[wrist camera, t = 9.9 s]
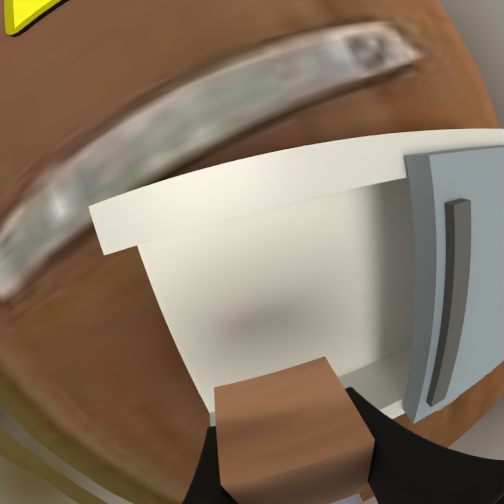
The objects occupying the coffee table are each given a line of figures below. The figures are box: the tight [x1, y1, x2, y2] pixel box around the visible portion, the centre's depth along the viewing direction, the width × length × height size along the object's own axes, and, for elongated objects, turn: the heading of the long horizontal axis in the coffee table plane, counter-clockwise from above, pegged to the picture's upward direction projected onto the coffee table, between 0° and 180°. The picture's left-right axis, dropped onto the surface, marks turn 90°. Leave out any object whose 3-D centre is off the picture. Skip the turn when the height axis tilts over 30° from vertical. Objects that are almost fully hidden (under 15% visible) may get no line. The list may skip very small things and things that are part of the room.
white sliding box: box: [89, 129, 504, 427], centre depth 16 cm, size 18×24×6 cm
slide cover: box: [403, 145, 504, 424], centre depth 12 cm, size 16×10×2 cm, turn 13°
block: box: [214, 356, 375, 504], centre depth 8 cm, size 4×4×4 cm
